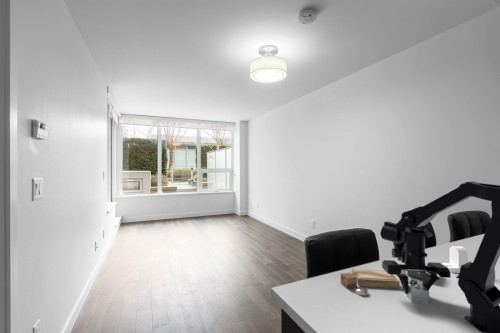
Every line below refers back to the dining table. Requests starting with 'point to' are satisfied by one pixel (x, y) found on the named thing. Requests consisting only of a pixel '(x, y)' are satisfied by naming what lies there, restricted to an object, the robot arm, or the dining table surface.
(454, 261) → the cable organizer
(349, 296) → the dining table surface
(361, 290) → the chrome dome knob
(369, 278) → the tan shallow rectangular tray
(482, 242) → the robot arm
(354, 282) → the walnut offcut
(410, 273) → the electrical switch
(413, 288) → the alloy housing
